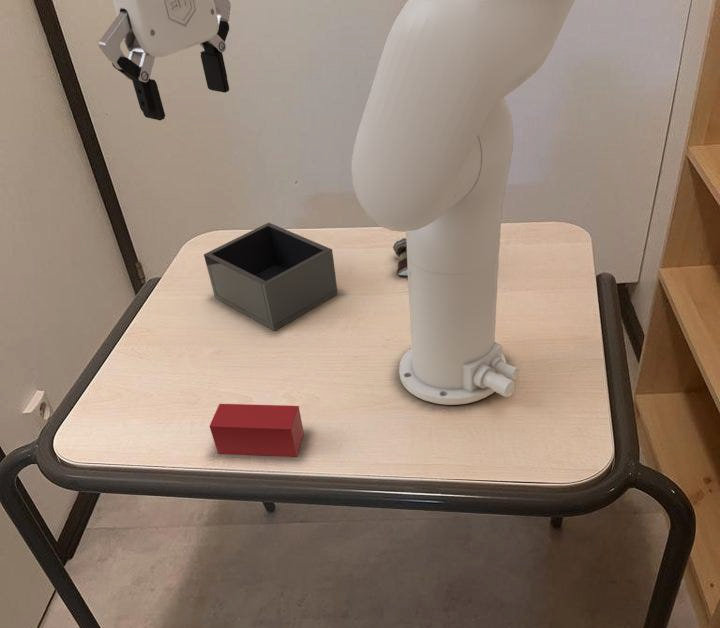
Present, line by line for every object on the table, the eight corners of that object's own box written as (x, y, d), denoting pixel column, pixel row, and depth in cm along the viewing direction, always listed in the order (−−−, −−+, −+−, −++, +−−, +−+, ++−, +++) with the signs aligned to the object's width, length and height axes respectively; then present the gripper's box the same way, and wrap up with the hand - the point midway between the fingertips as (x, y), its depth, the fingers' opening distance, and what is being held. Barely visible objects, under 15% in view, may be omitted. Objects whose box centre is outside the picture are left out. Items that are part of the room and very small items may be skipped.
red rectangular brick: (304, 433, 80) (298, 405, 77) (296, 456, 78) (291, 428, 75) (227, 430, 82) (219, 403, 79) (217, 453, 79) (209, 426, 76)
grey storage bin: (338, 294, 101) (332, 249, 96) (274, 331, 95) (265, 285, 91) (276, 265, 108) (268, 222, 103) (214, 298, 103) (203, 254, 98)
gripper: (91, -64, 65) (149, 135, 77) (231, -99, 73) (263, 84, 85) (45, -65, 68) (107, 124, 80) (184, -99, 77) (221, 77, 89)
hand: (188, 103), depth 83 cm, fingers open, 9 cm apart
